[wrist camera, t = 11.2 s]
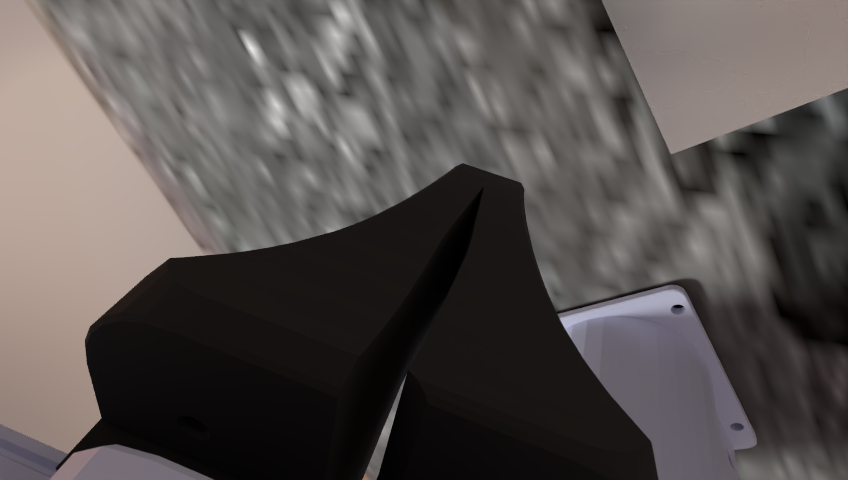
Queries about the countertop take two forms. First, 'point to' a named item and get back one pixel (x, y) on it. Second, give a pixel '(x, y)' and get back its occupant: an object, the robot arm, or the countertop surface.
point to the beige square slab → (730, 59)
